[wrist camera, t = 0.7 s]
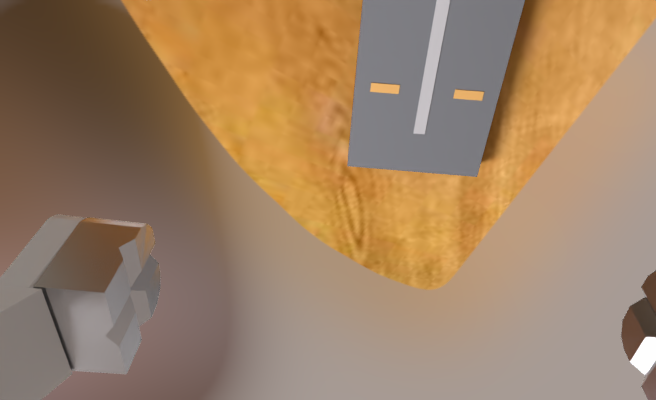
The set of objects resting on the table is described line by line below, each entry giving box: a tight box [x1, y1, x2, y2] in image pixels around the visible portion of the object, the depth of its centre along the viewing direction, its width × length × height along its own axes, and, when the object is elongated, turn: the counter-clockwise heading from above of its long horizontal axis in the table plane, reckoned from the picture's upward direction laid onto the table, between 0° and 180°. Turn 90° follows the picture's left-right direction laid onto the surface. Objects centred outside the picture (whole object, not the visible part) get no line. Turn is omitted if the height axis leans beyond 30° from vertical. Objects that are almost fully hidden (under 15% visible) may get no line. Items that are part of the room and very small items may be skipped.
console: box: [348, 0, 525, 177], centre depth 42 cm, size 26×12×2 cm, turn 176°
